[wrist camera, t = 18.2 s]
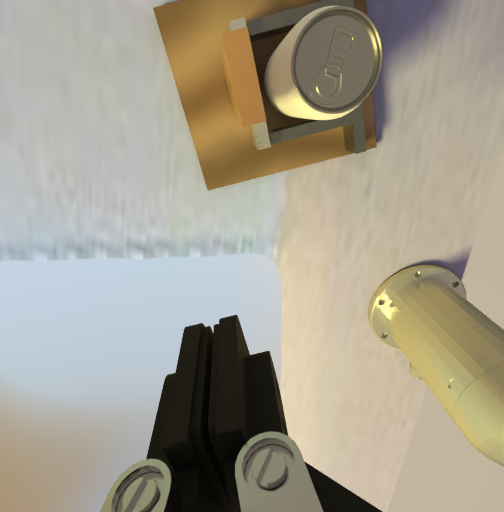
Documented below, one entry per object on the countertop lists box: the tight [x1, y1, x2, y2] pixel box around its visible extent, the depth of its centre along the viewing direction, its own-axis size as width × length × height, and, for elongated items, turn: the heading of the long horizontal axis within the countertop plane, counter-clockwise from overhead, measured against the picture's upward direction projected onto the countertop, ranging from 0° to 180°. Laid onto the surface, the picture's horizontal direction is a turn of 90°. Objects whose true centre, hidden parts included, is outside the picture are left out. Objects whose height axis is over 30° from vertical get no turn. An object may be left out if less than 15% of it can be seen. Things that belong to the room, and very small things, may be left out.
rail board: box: [153, 0, 376, 190], centre depth 31 cm, size 16×18×1 cm
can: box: [264, 6, 383, 120], centre depth 25 cm, size 6×6×12 cm
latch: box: [221, 17, 271, 150], centre depth 23 cm, size 10×2×16 cm, turn 13°
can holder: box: [246, 0, 366, 154], centre depth 29 cm, size 15×9×3 cm, turn 13°
